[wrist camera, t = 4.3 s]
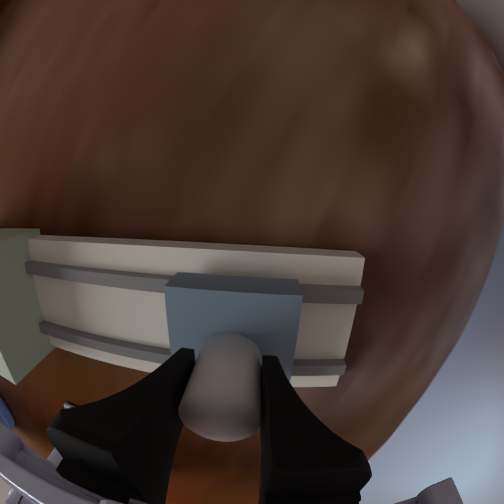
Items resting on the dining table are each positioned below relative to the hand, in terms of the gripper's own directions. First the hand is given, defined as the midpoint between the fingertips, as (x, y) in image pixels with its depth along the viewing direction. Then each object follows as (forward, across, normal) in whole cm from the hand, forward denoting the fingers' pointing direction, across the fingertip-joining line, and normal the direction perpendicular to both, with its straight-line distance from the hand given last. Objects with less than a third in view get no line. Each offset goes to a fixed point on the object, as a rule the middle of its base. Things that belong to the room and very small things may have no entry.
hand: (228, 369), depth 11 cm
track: (+5, +9, 0) cm, 11 cm away
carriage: (+3, 0, 0) cm, 3 cm away
